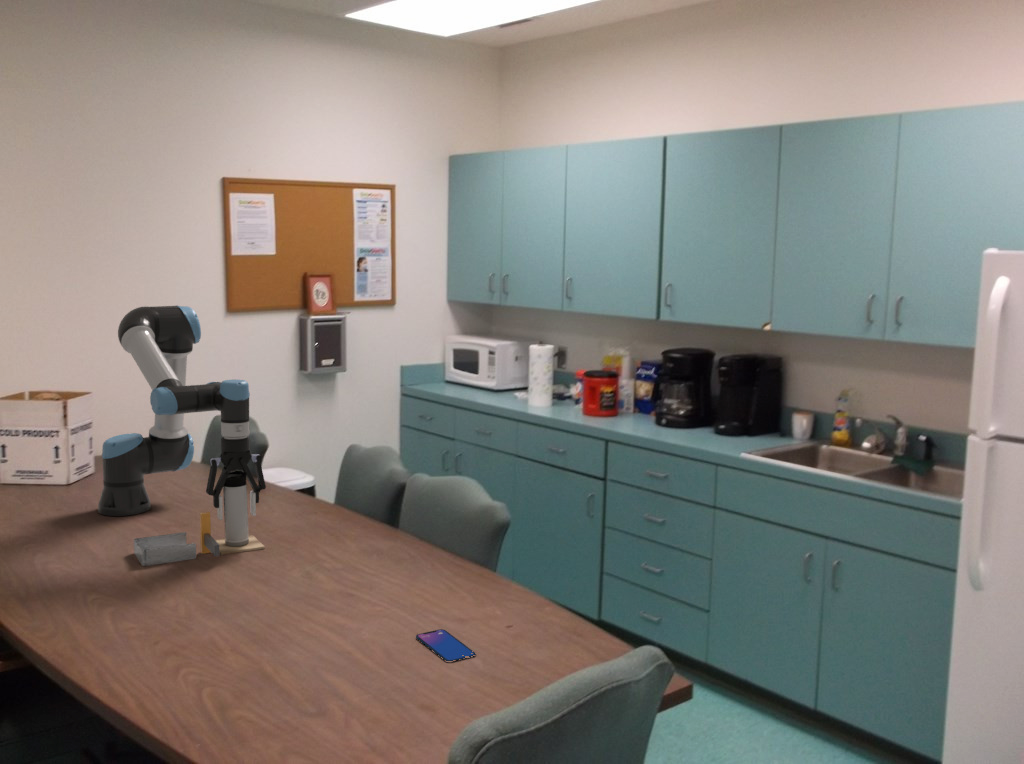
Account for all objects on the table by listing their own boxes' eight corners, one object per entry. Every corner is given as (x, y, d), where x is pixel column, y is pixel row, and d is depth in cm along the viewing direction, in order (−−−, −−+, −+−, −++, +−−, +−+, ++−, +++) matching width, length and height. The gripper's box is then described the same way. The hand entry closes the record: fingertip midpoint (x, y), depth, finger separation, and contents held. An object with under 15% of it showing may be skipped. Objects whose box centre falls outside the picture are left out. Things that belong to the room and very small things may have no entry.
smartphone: (447, 662, 191) (413, 634, 203) (447, 666, 191) (413, 638, 204) (478, 654, 195) (443, 628, 207) (478, 658, 195) (443, 632, 207)
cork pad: (209, 542, 264) (209, 540, 264) (252, 536, 270) (252, 534, 270) (221, 554, 254) (220, 552, 254) (264, 548, 260) (264, 546, 260)
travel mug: (252, 540, 265) (250, 470, 262) (243, 547, 259) (241, 475, 256) (231, 539, 266) (228, 470, 263) (221, 546, 259) (218, 475, 257)
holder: (134, 553, 254) (133, 538, 253) (185, 546, 261) (185, 532, 260) (142, 566, 244) (142, 551, 243) (196, 558, 251) (195, 544, 250)
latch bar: (200, 552, 256) (199, 512, 254) (209, 550, 257) (208, 511, 256) (212, 566, 245) (211, 525, 244) (222, 564, 246) (221, 524, 245)
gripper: (199, 442, 249) (200, 525, 252) (277, 435, 260) (278, 515, 263) (192, 437, 255) (194, 518, 259) (269, 431, 267) (270, 508, 270)
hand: (236, 516), depth 261 cm, fingers open, 8 cm apart
